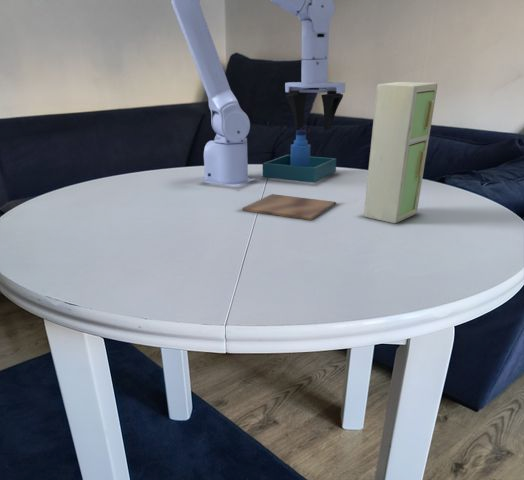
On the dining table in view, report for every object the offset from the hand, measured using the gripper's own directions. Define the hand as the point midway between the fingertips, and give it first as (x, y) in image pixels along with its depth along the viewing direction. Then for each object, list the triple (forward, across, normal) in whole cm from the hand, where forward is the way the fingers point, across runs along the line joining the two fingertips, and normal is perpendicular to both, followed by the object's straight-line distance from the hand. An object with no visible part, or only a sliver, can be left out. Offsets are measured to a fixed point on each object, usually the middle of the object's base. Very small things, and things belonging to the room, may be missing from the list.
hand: (313, 128), depth 111 cm
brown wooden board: (+10, -12, +26) cm, 31 cm away
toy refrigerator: (+11, -30, +20) cm, 38 cm away
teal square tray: (+10, +2, +2) cm, 11 cm away
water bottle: (+10, +2, +2) cm, 10 cm away
